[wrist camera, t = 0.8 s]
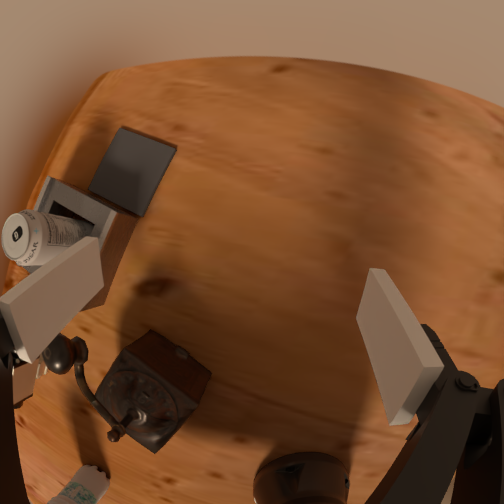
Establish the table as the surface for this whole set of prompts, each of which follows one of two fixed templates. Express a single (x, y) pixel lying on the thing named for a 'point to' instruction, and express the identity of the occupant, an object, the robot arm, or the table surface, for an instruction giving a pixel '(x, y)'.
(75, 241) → the energy drink can
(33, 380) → the pneumatic valve
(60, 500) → the bottle
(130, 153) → the mat
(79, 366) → the brown manual coffee grinder
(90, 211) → the housing
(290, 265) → the table surface
